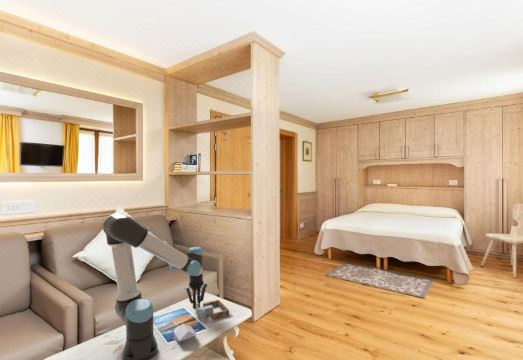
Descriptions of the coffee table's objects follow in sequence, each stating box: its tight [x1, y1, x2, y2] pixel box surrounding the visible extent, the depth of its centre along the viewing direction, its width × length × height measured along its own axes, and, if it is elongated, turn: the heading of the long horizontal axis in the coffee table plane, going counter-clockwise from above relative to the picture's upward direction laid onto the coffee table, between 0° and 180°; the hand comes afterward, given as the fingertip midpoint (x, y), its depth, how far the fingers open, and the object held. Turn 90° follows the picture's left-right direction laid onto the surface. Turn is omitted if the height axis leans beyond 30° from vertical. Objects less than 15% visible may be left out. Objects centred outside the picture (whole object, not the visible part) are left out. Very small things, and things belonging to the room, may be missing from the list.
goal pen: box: [202, 299, 230, 321], centre depth 173 cm, size 10×16×3 cm, turn 30°
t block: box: [196, 305, 214, 321], centre depth 170 cm, size 9×10×4 cm
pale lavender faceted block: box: [173, 323, 198, 342], centre depth 146 cm, size 9×7×13 cm
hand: (196, 313), depth 167 cm, fingers closed
